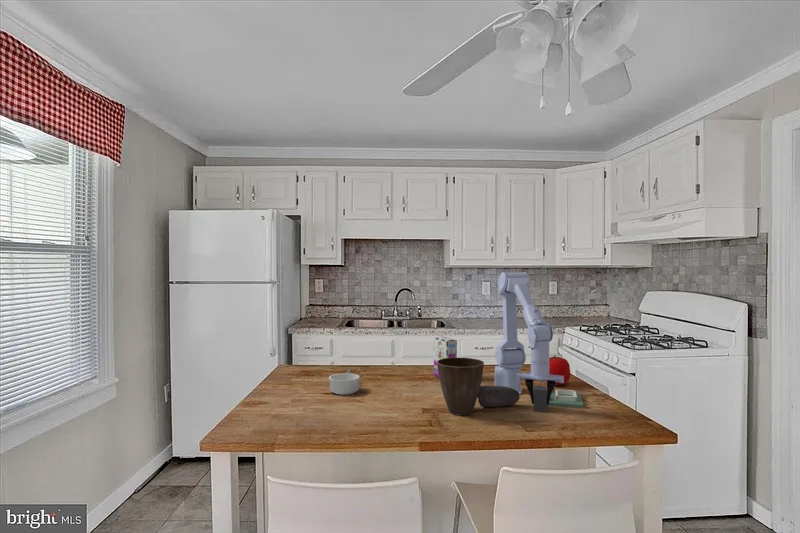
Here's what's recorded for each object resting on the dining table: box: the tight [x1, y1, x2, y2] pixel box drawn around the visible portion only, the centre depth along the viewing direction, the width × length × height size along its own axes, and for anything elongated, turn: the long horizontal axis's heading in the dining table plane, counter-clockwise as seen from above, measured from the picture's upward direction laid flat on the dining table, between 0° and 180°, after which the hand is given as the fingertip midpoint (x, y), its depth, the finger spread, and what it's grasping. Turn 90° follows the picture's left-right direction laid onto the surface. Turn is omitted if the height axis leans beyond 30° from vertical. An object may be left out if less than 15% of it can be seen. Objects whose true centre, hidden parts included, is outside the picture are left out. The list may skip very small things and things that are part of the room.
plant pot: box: [437, 357, 485, 416], centre depth 154 cm, size 15×15×16 cm
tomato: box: [549, 355, 571, 386], centre depth 187 cm, size 12×12×11 cm
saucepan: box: [328, 367, 361, 396], centre depth 183 cm, size 12×20×6 cm, turn 177°
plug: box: [533, 384, 548, 413], centre depth 157 cm, size 4×6×7 cm, turn 164°
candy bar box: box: [433, 336, 458, 378], centre depth 198 cm, size 11×5×16 cm, turn 25°
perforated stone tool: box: [477, 385, 521, 408], centre depth 160 cm, size 15×5×7 cm, turn 96°
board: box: [533, 388, 584, 409], centre depth 166 cm, size 16×14×2 cm
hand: (540, 403), depth 156 cm, fingers closed on plug, 4 cm apart
